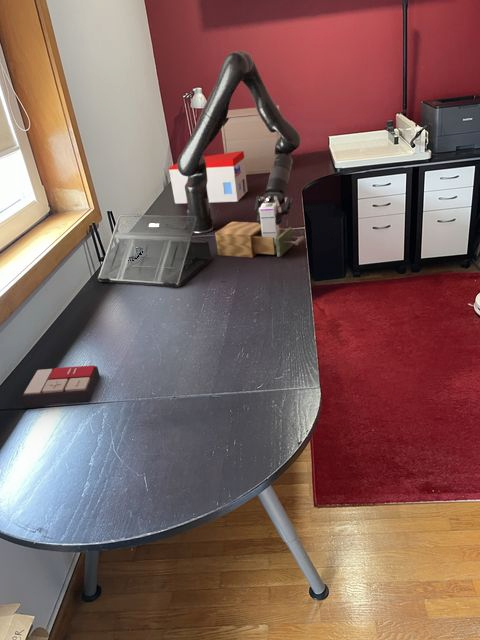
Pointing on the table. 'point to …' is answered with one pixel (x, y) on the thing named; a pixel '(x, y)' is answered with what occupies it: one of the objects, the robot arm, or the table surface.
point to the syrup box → (269, 220)
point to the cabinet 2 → (237, 239)
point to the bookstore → (216, 178)
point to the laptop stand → (155, 253)
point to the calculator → (61, 386)
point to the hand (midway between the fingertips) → (268, 223)
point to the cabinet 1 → (250, 139)
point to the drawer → (267, 243)
